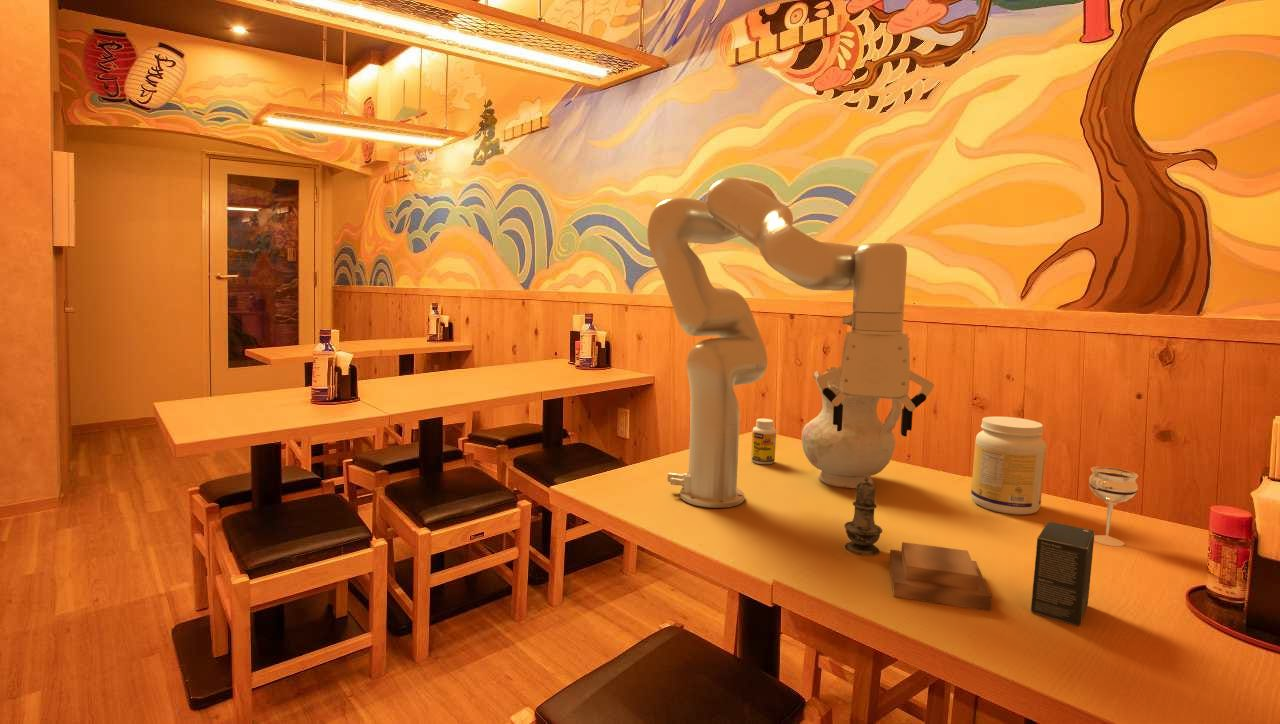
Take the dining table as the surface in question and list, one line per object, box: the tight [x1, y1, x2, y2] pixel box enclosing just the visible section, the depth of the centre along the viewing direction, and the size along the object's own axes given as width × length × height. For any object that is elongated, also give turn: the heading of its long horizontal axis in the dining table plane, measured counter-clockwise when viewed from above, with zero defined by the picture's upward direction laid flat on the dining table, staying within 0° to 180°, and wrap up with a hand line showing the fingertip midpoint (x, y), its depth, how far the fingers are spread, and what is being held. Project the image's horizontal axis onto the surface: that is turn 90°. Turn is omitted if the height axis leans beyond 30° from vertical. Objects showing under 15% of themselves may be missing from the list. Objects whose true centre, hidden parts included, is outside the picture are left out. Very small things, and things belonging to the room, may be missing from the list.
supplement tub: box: [970, 416, 1047, 516], centre depth 130 cm, size 12×12×17 cm
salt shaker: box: [843, 477, 883, 556], centre depth 107 cm, size 6×6×12 cm
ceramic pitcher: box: [801, 366, 903, 489], centre depth 143 cm, size 22×20×25 cm
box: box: [1030, 521, 1095, 627], centre depth 89 cm, size 8×6×11 cm
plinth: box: [888, 541, 993, 612], centre depth 95 cm, size 12×12×4 cm
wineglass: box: [1088, 466, 1139, 547], centre depth 113 cm, size 7×7×12 cm
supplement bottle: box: [750, 418, 777, 466], centre depth 158 cm, size 6×6×10 cm
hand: (871, 432), depth 105 cm, fingers open, 9 cm apart
